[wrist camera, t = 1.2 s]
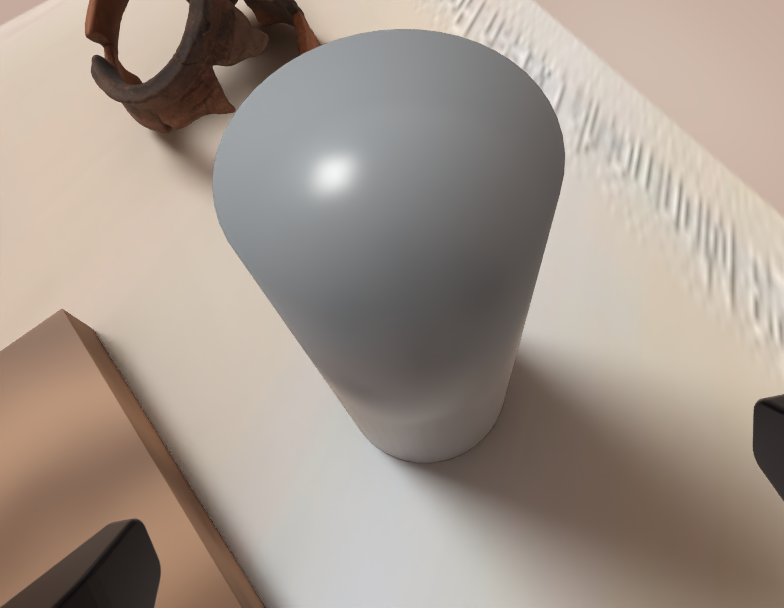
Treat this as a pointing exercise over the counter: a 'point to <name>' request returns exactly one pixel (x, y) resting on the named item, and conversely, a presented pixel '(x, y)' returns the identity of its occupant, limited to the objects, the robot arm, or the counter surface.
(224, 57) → the pottery mug
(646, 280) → the counter surface
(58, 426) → the shelf board
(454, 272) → the grey cylinder
